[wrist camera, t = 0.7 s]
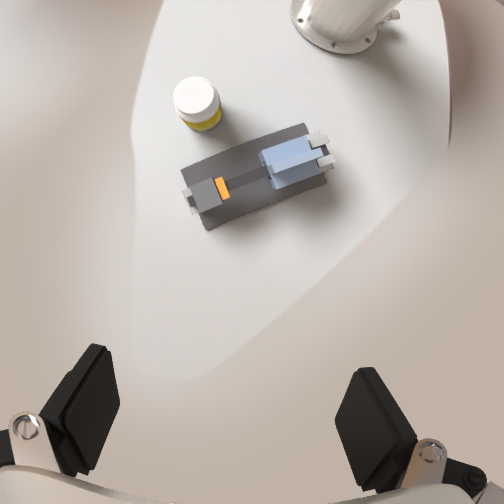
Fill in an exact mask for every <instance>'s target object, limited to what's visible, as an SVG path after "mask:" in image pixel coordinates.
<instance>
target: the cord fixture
mask: <svg viewBox="0 0 504 504" xmlns="http://www.w3.org/2000/svg"><path fill="white" fill-rule="evenodd" d="M305 135H306V137H307V140H308V142H309V145H310V148H311V150H314V149H317V148H321V150H322V153H323V155H324V156H322V157H319V158H316V159H315V161H316V163H317V166H318V169H319V171H320V174H317V175H314V176H312V177H309V178H306V179H303V180H301V181H298V182H295V183H293V184H290V185H287V186H285V187H282V188H279V189H273V188H271V186H270V183H269V181H268V178H267V176H270V174H269V172H268V169H267V167H266V165H265V166H262V163H261V161H260V158H259V156H258V154H259V153H260V152H261V151H262V150H264V149H267V148H270V147H273V146H276V145H278V144H281V143H284V142H287V141H290V140H293V139H296V138H299V137H302V136H305ZM327 143H330V141H329V139H328V136H327V134H326V135H323V136H322V134H321V132H320V131H316V132H313V133H310V134H309V133H308V131H307V129H306V126H305V124H304V123H302V124H299V125H296V126H292V127H289V128H286V129H283V130H280V131H278V132H275V133H272V134H269V135H266V136H263V137H260V138H258V139H255V140H252V141H250V142H247V143H244V144H242V145H239V146H236V147H234V148H231V149H229V150H226V151H224V152H221V153H219V154H216V155H214V156H211V157H209V158H207V159H204V160H202V161H200V162H197V163H195V164H193V165H190V166H188V167H186V168H184V169H181V172H182V175H183V177H184V180H185V182H186V184H187V187H188V188H187V189H185V190H183V191H182V193H183V195H184V197H185V200H186V202H187V205H188V207H189V209H190V212H191V214H192V215H194V214H196V213H199V216H200V218H201V220H202V223H203V225H204V227H205V230H208V229H210V228H213V227H215V226H218V225H220V224H222V223H225V222H227V221H230V220H232V219H235V218H237V217H240V216H242V215H245V214H247V213H250V212H252V211H255V210H257V209H260V208H262V207H265V206H267V205H270V204H273V203H275V202H278V201H280V200H283V199H286V198H288V197H291V196H293V195H296V194H299V193H301V192H304V191H307V190H309V189H312V188H315V187H317V186H320V185H323V184H325V183H327V181H326V178H325V176H324V173H323V172H325V171H328V170H331V169H333V168H334V166H333V163H334V162H337V160H336V157H335V155H334V153H333V154H329V153H328V150H327V147H326V145H325V144H327Z"/></svg>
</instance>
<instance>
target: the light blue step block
mask: <svg viewBox="0 0 504 504" xmlns="http://www.w3.org/2000/svg"><path fill="white" fill-rule="evenodd" d="M258 156H259V158H260V161H261V163H262V166H265V165H266V167H267V169H268V172H269V174H270V176H267V178H268V181H269V183H270V186H271V188H273V189H279V188H282V187H285V186H287V185H290V184H293V183H295V182H298V181H301V180H303V179H306V178H309V177H312V176H314V175H317V174H320V171H319V169H318V166H317V163H316V161H315V159H316V158H319V157H322V156H324V155H323V153H322V150H321V148H317V149H314V150H311V148H310V145H309V142H308V140H307V137H306V135H305V136H302V137H299V138H296V139H293V140H290V141H287V142H284V143H281V144H278V145H276V146H273V147H270V148H267V149H264V150H262V151H261V152H260V153H259V154H258Z"/></svg>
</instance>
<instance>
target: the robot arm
mask: <svg viewBox="0 0 504 504" xmlns="http://www.w3.org/2000/svg"><path fill="white" fill-rule="evenodd" d="M401 1H402V0H293V1H292V3H291V7H290V15H291V19H292V21H293V23H294V25H295V27H296V28H297V30H298V31H299V32H300V33H301V34H302V35H303V36H304V37H305V38H306V39H307V40H309V41H310V42H312V43H313V44H315V45H316V46H318V47H320V48H322V49H325V50H327V51H330V52H334V53H338V54H355V53H359V52H362V51H364V50H366V49H367V48H368V47H369V46H371V44H372V43H373V42H374V41H375V38H376V36H377V24H378V23H379V22H384V20H399V19H400V14H399V12H398V11H397V10H396V9H393V8H394V7H395V6H396V5H397V4H398V3H400V2H401ZM496 1H497V2H499V3H500V4H501V5H503V6H504V0H496ZM332 46H333V47H332ZM119 406H120V399H119V394H118V390H117V384H116V379H115V373H114V368H113V362H112V356H111V352H110V351H108V350H107V348H106V347H105V346H102V345H98V344H93V343H92V344H91V345H90V346H89V347H88V348H87V350H86V351H85V352H84V354H83V355H82V357H81V358H80V359H79V361H78V362H77V363H76V365H75V366H74V368H73V369H72V370H71V371H69V372H68V373H67V374H66V375H65V377H64V378H63V380H62V381H61V382H60V384H59V385H58V387H57V388H56V390H55V391H54V392H53V394H52V395H51V397H50V398H49V400H48V401H47V403H46V404H45V406H44V407H43V409H42V410H41V412H40V413H39V415H37V414H35V413H32V412H21V413H18V414H16V415H15V416H13V418H12V419H11V420H10V423H9V429H6V430H2V431H0V504H176V503H169V502H164V501H158V500H152V499H148V498H143V497H139V496H134V495H131V494H126V493H123V492H118V491H115V490H111V489H108V488H104V487H101V486H97V485H95V484H91V483H88V482H86V481H82V480H80V479H76V478H75V477H76V475H77V473H78V472H79V473H82V474H85V475H88V474H89V471H90V470H94V469H95V466H96V464H97V461H98V459H99V456H100V453H101V451H102V448H103V446H104V443H105V441H106V438H107V436H108V433H109V431H110V428H111V426H112V424H113V421H114V419H115V416H116V414H117V412H118V409H119ZM335 425H336V428H337V430H338V433H339V436H340V438H341V441H342V444H343V447H344V450H345V452H346V455H347V457H348V461H349V463H350V466H351V469H352V472H353V475H354V478H355V480H356V483H357V485H358V486H361V487H362V490H363V492H364V491H368V490H372V489H375V490H376V493H377V494H376V495H372V496H367V497H363V498H358V499H353V500H347V501H342V502H337V503H331V504H504V489H502V488H501V487H499V486H498V485H496V484H494V483H493V482H491V481H490V482H489V483H487V478H486V475H485V473H484V472H483V471H482V470H481V469H480V468H477V467H475V466H471V465H468V464H465V463H462V462H459V461H456V460H452V459H450V458H447V451H446V448H445V447H444V445H443V444H442V443H440V442H439V441H437V440H435V439H430V438H427V439H423V440H420V441H418V440H417V435H416V434H415V432H414V430H413V429H412V427H411V425H410V424H409V422H408V420H407V419H406V417H405V416H404V414H403V412H402V411H401V409H400V407H399V406H398V404H397V403H396V401H395V400H394V398H393V396H392V395H391V393H390V392H389V390H388V389H387V387H386V386H385V384H384V382H383V381H382V379H381V378H380V376H379V374H378V373H377V372H376V370H375V369H374V368H373V367H364V368H359V369H358V370H357V371H356V372H354V374H353V376H352V378H351V381H350V384H349V386H348V389H347V391H346V393H345V396H344V398H343V401H342V403H341V405H340V408H339V410H338V412H337V415H336V417H335Z"/></svg>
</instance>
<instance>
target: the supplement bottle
mask: <svg viewBox="0 0 504 504" xmlns="http://www.w3.org/2000/svg"><path fill="white" fill-rule="evenodd" d="M173 101H174V107H175V110H176V112H177V114H178V115H179V117H180V118H181V119H182V120H183V121H184V122H185V123H186V125H187V126H188V127H189V128H191V129H192V130H194V131H197V132H206V131H209V130H211V129H213V128H215V127H216V126H217V125H218V123H219V122H220V120H221V118H222V107H221V102H220V97H219V94H218V92H217V90H216V89H215V87H214V86H212V84H211V83H210V82H209V81H208V80H206V79H205V78H202V77H189V78H187V79H185V80H183V81H181V82H180V83H179V84H178V85H177V87H176V88H175V90H174V94H173Z"/></svg>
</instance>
